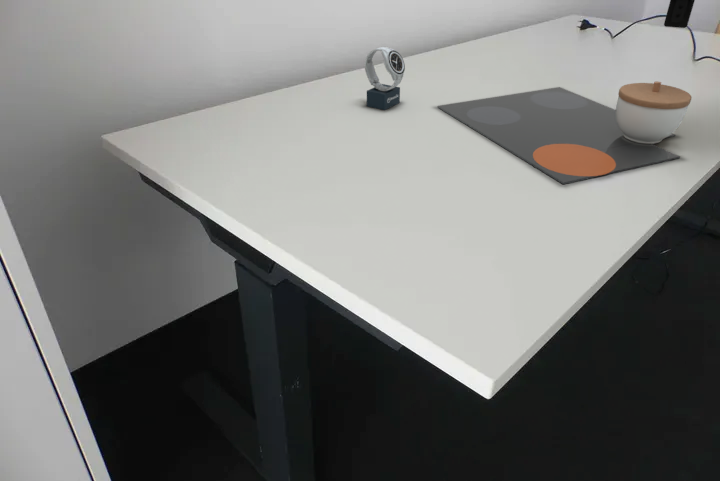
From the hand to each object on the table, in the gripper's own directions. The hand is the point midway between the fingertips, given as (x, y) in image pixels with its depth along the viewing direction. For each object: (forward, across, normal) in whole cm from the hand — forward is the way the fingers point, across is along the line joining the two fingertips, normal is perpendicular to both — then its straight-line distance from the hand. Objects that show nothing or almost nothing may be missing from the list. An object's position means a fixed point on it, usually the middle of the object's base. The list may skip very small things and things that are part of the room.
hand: (676, 21), depth 87 cm
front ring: (+18, -21, +9) cm, 29 cm away
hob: (+18, -7, +13) cm, 23 cm away
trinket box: (+18, -6, 0) cm, 19 cm away
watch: (+18, -10, +48) cm, 52 cm away
